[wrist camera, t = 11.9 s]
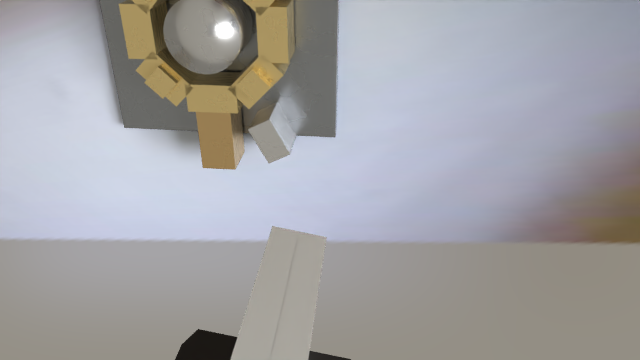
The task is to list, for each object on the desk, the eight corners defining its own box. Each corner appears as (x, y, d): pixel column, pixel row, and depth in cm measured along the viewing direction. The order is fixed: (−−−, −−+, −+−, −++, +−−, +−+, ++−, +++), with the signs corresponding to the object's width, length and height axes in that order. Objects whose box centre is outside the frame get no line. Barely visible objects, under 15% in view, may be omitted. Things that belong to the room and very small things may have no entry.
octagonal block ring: (127, -63, 34) (101, -58, 31) (292, -62, 33) (282, -57, 30) (162, 148, 42) (144, 170, 39) (297, 154, 41) (290, 177, 38)
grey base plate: (341, -115, 33) (335, -115, 29) (335, 140, 42) (330, 169, 37) (84, -116, 34) (41, -116, 30) (131, 131, 43) (103, 158, 39)
